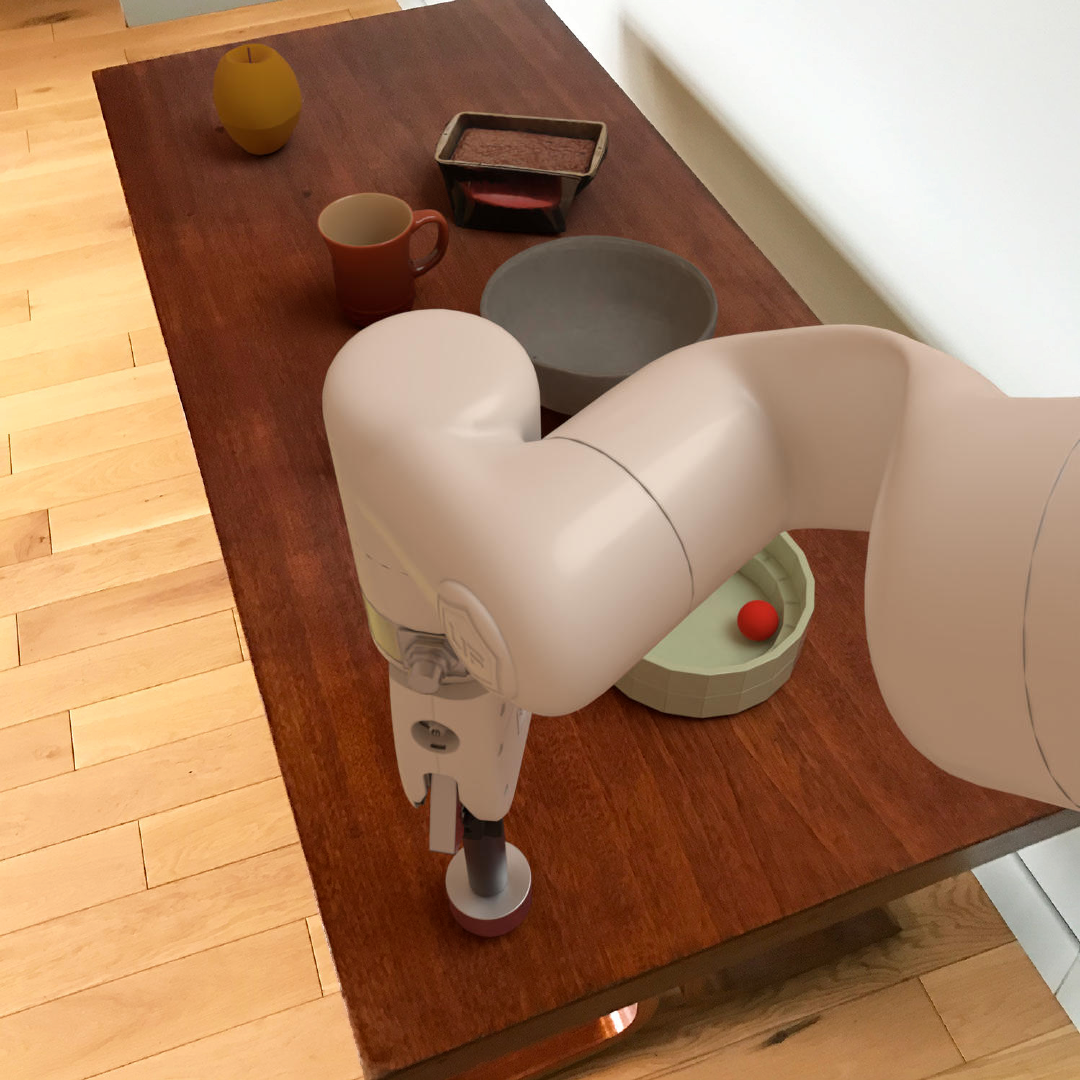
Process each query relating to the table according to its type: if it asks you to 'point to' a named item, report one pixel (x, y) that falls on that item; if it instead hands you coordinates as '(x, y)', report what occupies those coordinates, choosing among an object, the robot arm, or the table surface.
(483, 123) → the baking dish
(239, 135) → the apple
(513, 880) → the dark post
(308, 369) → the table surface
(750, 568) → the mixing bowl
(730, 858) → the table surface
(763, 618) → the tomato
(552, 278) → the bowl
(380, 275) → the mug
